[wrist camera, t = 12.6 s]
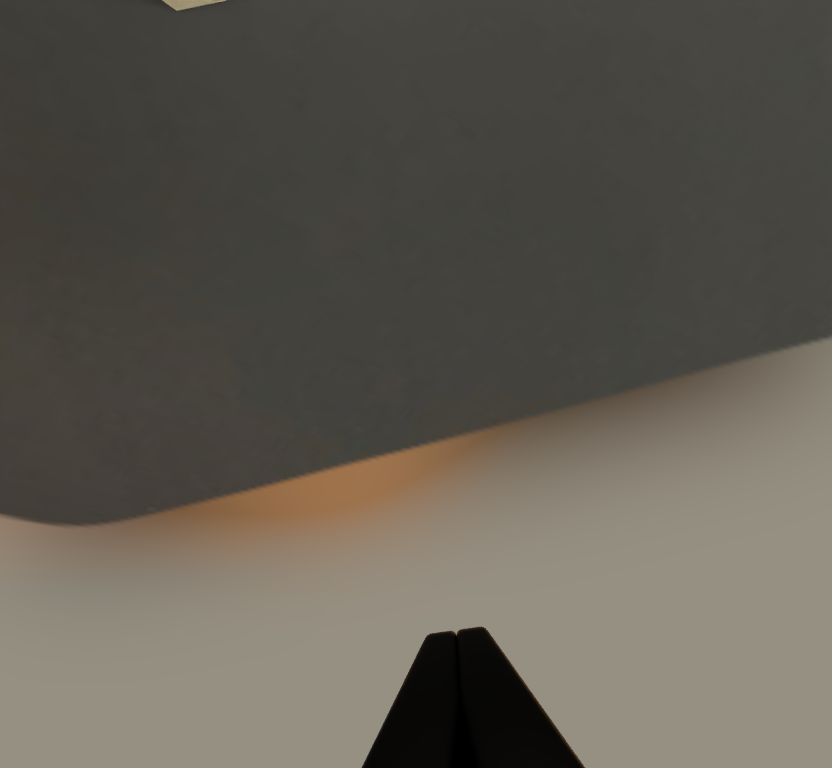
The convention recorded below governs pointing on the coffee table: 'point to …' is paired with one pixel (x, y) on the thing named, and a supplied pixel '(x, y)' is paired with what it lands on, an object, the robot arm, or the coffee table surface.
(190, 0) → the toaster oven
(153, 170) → the coffee table surface
